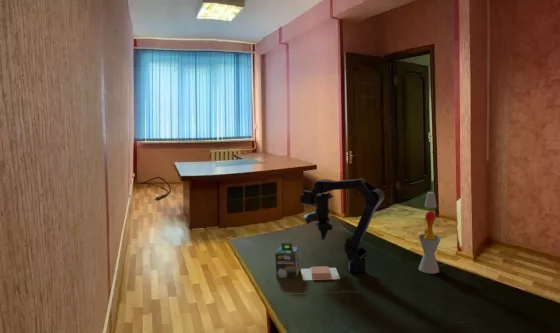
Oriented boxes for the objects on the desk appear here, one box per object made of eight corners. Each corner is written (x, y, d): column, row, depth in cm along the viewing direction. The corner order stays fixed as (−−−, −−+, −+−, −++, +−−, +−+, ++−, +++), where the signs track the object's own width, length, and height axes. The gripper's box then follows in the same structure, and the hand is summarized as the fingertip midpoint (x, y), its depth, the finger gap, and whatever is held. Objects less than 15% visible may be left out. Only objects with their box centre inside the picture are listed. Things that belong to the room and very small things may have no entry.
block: (328, 266, 168) (330, 272, 161) (328, 271, 168) (330, 278, 161) (310, 266, 168) (311, 273, 161) (310, 272, 168) (312, 279, 161)
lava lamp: (443, 273, 164) (445, 194, 160) (422, 274, 164) (424, 195, 160) (434, 265, 173) (436, 190, 169) (415, 265, 173) (416, 190, 169)
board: (335, 268, 173) (335, 267, 173) (340, 279, 161) (340, 278, 161) (300, 269, 172) (300, 268, 172) (302, 281, 160) (302, 280, 160)
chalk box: (299, 270, 171) (299, 239, 169) (296, 279, 162) (295, 246, 160) (279, 269, 173) (279, 238, 171) (275, 278, 164) (274, 245, 162)
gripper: (303, 202, 183) (303, 233, 186) (306, 212, 165) (307, 247, 167) (326, 202, 184) (326, 233, 186) (332, 211, 165) (332, 246, 167)
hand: (322, 239), depth 176 cm, fingers closed
